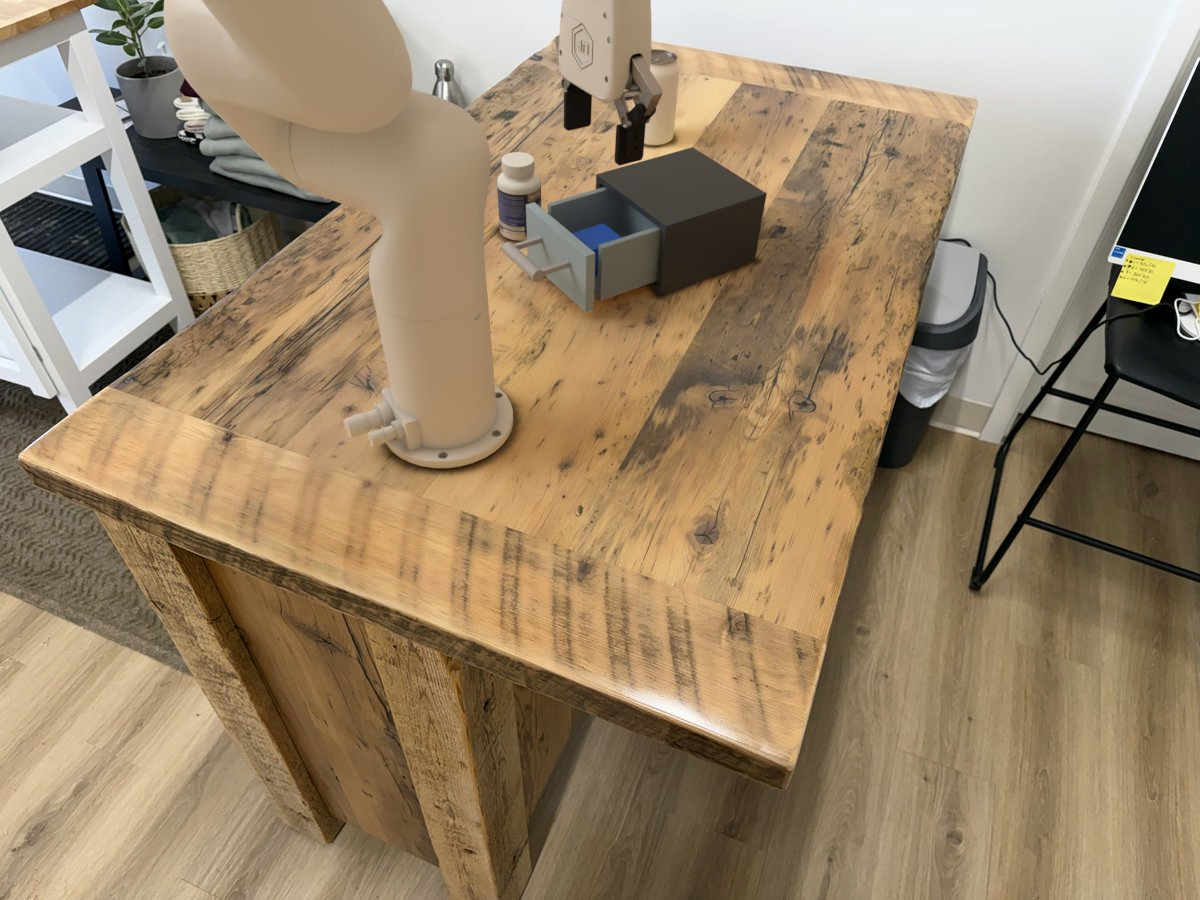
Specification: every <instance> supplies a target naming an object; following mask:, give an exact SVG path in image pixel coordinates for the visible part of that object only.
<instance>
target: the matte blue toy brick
mask: <svg viewBox="0 0 1200 900" xmlns="http://www.w3.org/2000/svg"><path fill="white" fill-rule="evenodd" d="M572 234H573V235H574V236H575V237H577V238H578V239H579V240H580V241H581V242H583V243H584V244H585V245H586V246H587V247H589V248H590V249H591V250H592V251H593V252H595V276H597V275H598V245H601V244H604V243H607V242H610V241H613V240H616V239H619V238H622V237H620V236H619V235H618V234H617V233H615V232H614V231H613V230H612V229H610V228H609V227H608V226H607V225H605V224H604V223H603V224H599V225H596V226H593V227H590V228H587V229H583V230H580V231H577V232H574V233H572Z"/></svg>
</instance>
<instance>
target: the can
mask: <svg viewBox="0 0 1200 900" xmlns="http://www.w3.org/2000/svg"><path fill="white" fill-rule="evenodd" d="M678 57H679V56H678V55H677V54H676V53H675V52H673V51H670V50H666V49H660V48H656V49H655V48H651V62H650V71H651V72H652V74H653V75H654V77H655V79H656V80H657V82H658V83H659V85H660V86H661V88H662V96H661V98H660V100H659V102H658V105H657V107H656V112H655V114H654V115H653V116H652V117H650V121H649V123H646V125H645V138H644V146H647V147H648V146H649V147H661V146H665V145H667V144H669V143H670V142H671V141H672V140H673V139H674V134H675V126H676V125H675V124H676V114H677V113H676V112H677V101H678V92H679V79H680V66H679V62H678ZM634 107H635V104H634V101H633V100H632V109H633V108H634Z"/></svg>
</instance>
